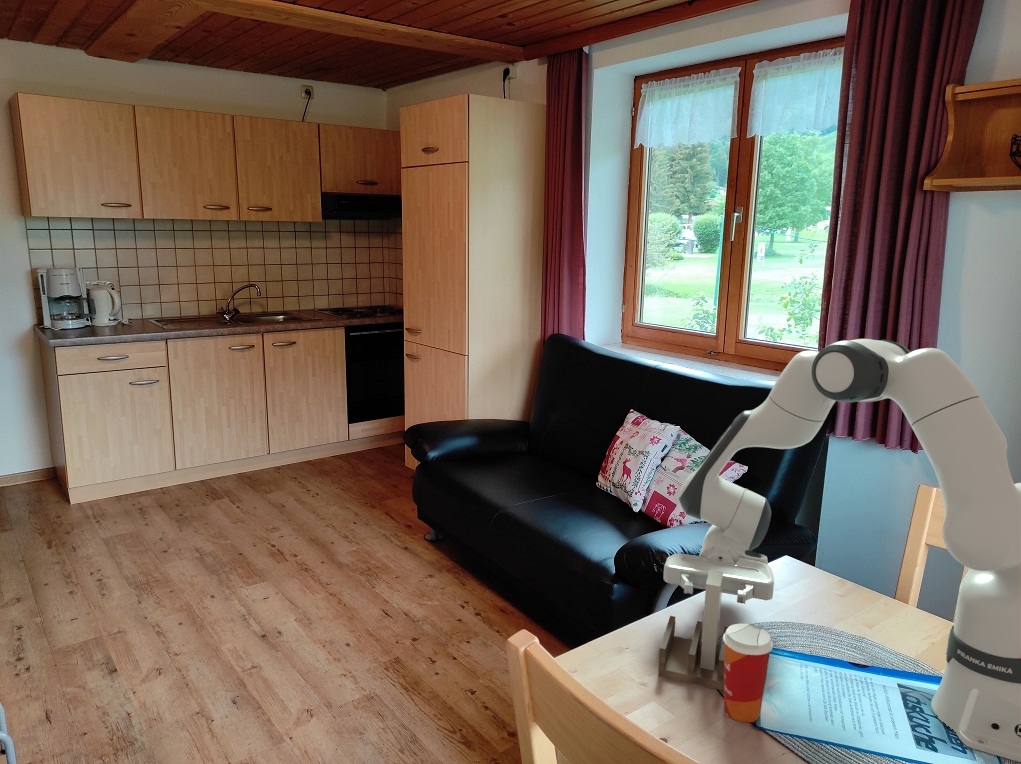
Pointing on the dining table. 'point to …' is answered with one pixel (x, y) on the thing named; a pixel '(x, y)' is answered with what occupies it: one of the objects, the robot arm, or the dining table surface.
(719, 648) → the rack
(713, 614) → the strip
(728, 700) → the paper cup
